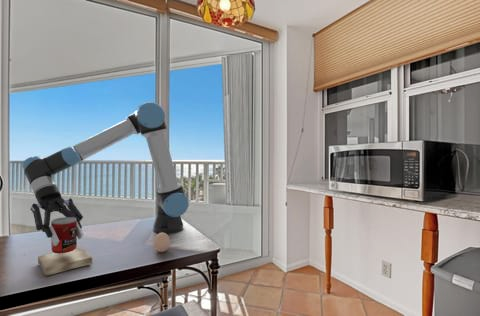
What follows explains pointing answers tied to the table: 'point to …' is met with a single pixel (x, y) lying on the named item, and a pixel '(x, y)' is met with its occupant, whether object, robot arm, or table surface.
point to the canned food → (65, 234)
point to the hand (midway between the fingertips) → (69, 240)
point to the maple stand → (64, 261)
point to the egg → (161, 242)
